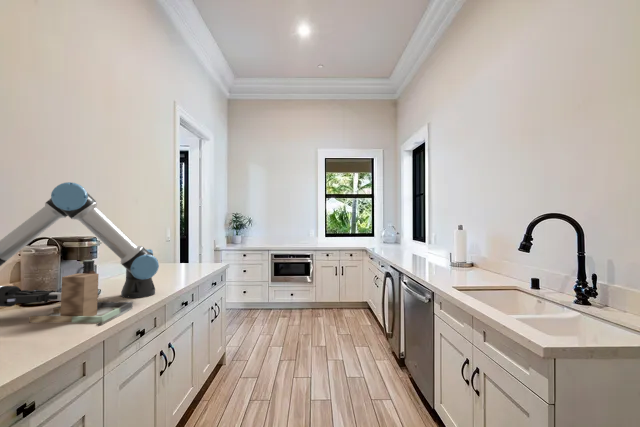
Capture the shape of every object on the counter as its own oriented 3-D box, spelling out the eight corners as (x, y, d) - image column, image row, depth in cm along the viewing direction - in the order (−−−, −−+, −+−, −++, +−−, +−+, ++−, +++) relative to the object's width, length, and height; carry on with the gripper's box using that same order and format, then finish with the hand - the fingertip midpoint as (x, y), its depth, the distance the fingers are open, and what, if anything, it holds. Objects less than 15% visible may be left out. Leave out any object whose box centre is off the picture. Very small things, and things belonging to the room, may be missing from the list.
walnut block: (60, 320, 115) (62, 277, 116) (75, 314, 123) (77, 273, 124) (82, 320, 116) (84, 277, 116) (96, 314, 124) (98, 273, 124)
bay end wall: (100, 324, 115) (100, 316, 115) (116, 316, 125) (116, 308, 125) (103, 324, 115) (103, 316, 115) (119, 316, 125) (119, 308, 125)
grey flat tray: (29, 325, 113) (29, 316, 113) (71, 308, 134) (71, 301, 134) (101, 325, 114) (102, 316, 114) (132, 309, 135) (132, 302, 135)
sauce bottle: (86, 302, 144) (88, 259, 145) (99, 303, 144) (101, 259, 144) (75, 306, 138) (76, 260, 138) (88, 306, 137) (90, 261, 138)
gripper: (17, 301, 124) (79, 302, 126) (-16, 311, 111) (54, 311, 113) (18, 282, 125) (80, 283, 126) (-15, 289, 112) (55, 290, 113)
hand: (68, 296), depth 119 cm, fingers closed
